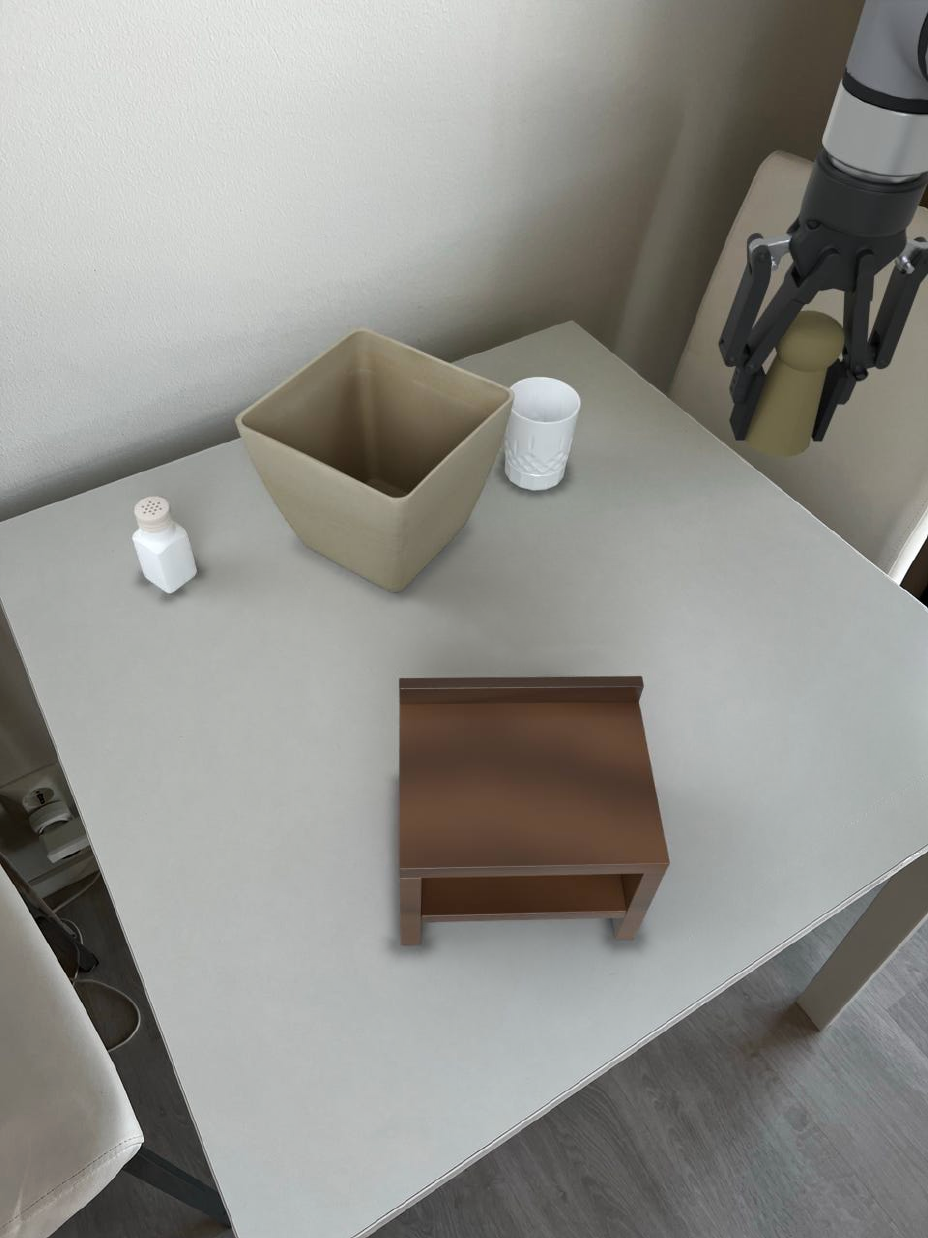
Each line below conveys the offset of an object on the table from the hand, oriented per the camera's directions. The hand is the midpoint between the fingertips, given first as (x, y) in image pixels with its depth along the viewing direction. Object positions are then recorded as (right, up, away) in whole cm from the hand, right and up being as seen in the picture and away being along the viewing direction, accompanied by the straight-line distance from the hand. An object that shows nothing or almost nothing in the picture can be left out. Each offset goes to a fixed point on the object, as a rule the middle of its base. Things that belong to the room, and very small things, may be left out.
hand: (775, 430), depth 81 cm
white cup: (-19, 0, +26) cm, 32 cm away
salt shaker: (-56, -12, +14) cm, 59 cm away
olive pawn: (0, 0, 0) cm, 1 cm away
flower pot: (-35, -7, +19) cm, 41 cm away
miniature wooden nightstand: (-23, -36, -4) cm, 43 cm away
